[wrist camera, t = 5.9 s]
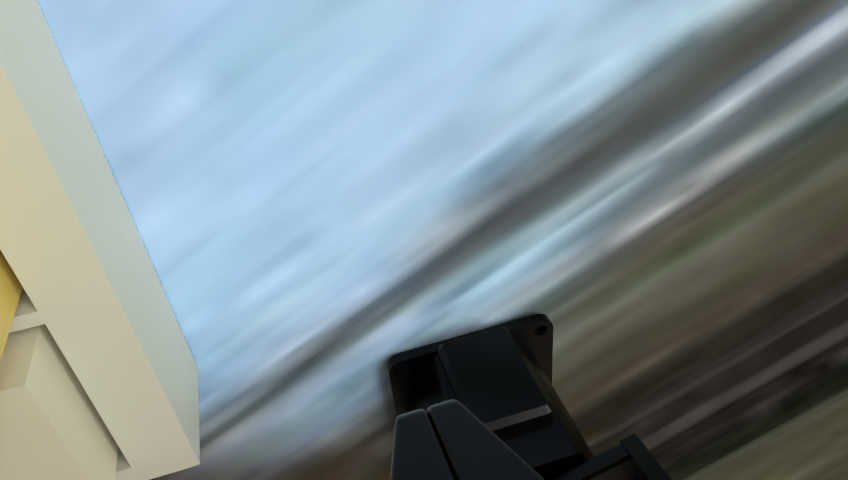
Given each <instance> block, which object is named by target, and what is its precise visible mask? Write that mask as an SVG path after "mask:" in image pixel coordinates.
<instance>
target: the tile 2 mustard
mask: <svg viewBox="0 0 848 480" xmlns="http://www.w3.org/2000/svg"><path fill="white" fill-rule="evenodd" d="M22 289H23V286H22V285H21V283H20V281H19V280H18V278H17V276H16V275H15V273H14V271H13V270H12V268H11V266H10V265H9V263H8V261H7V260H6V258H5V256H4V255H3V253H2V251H1V250H0V361H1V358H2V354H3V351H4V348H5V344H6V341H7V338H8V335H9V331H10V328H11V325H12V321H13V318H14V315H15V312H16V308H17V305H18V302H19V298H20V295H21V292H22Z"/></svg>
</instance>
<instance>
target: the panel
mask: <svg viewBox="0 0 848 480" xmlns="http://www.w3.org/2000/svg"><path fill="white" fill-rule="evenodd" d="M0 250H1V251H2V253H3V255H4V256H5V258H6V260H7V261H8V263H9V265H10V266H11V268H12V270H13V271H14V273H15V275H16V276H17V278H18V280H19V281H20V283H21V285H22V286H23V289H22V292H21V295H20V298H19V302H18V305H17V308H16V312H15V315H14V318H13V321H12V325H11V328H10V331H9V333H11V332H15V331H19V330H23V329H27V328H31V327H35V326H39V325H43V324H45V325H46V326H47V328H48V330H49V331H50V333H51V335H52V336H53V338H54V340H55V341H56V343H57V345H58V346H59V348H60V350H61V351H62V353H63V355H64V356H65V358H66V360H67V361H68V363H69V365H70V366H71V368H72V370H73V371H74V373H75V375H76V376H77V378H78V380H79V381H80V383H81V385H82V386H83V388H84V390H85V391H86V393H87V395H88V396H89V398H90V400H91V401H92V403H93V405H94V406H95V408H96V410H97V411H98V413H99V415H100V416H101V418H102V420H103V421H104V423H105V425H106V426H107V428H108V430H109V431H110V433H111V435H112V436H113V438H114V440H115V441H116V443H117V445H118V454H117V465H116V475H115V480H150V479H153V478H157V477H160V476H163V475H167V474H170V473H173V472H177V471H180V470H183V469H187V468H190V467H194V466H197V465H200V441H199V400H198V368H197V365H196V363H195V361H194V358H193V356H192V354H191V352H190V349H189V347H188V345H187V342H186V340H185V338H184V336H183V333H182V331H181V329H180V326H179V324H178V322H177V320H176V317H175V315H174V313H173V310H172V308H171V306H170V304H169V301H168V299H167V297H166V294H165V292H164V290H163V288H162V285H161V283H160V281H159V278H158V276H157V274H156V272H155V269H154V267H153V265H152V262H151V260H150V258H149V255H148V253H147V251H146V249H145V246H144V244H143V242H142V239H141V237H140V235H139V233H138V230H137V228H136V226H135V223H134V221H133V219H132V217H131V214H130V212H129V210H128V207H127V205H126V203H125V201H124V198H123V196H122V194H121V191H120V189H119V187H118V185H117V182H116V180H115V178H114V175H113V173H112V171H111V169H110V166H109V164H108V162H107V159H106V157H105V155H104V153H103V150H102V148H101V146H100V143H99V141H98V139H97V137H96V134H95V132H94V130H93V127H92V125H91V123H90V121H89V118H88V116H87V114H86V111H85V109H84V107H83V105H82V102H81V100H80V98H79V95H78V93H77V91H76V89H75V86H74V84H73V82H72V79H71V77H70V75H69V73H68V70H67V68H66V66H65V63H64V61H63V59H62V57H61V54H60V52H59V50H58V47H57V45H56V43H55V41H54V38H53V36H52V34H51V31H50V29H49V27H48V25H47V22H46V20H45V18H44V15H43V13H42V11H41V9H40V6H39V4H38V2H37V0H0Z"/></svg>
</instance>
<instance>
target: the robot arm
mask: <svg viewBox="0 0 848 480" xmlns="http://www.w3.org/2000/svg"><path fill="white" fill-rule="evenodd" d="M539 326H540V327H539ZM538 327H539V328H538ZM552 349H553V325H552V323H551V321H550V320H549V318H548V317H547V316H546V315H544V314H536V315H533V316H529V317H525V318H522V319H518V320H515V321H511V322H508V323H504V324H501V325H497V326H494V327H490V328H487V329H483V330H480V331H476V332H473V333H469V334H465V335H462V336H458V337H455V338H451V339H448V340H444V341H441V342H437V343H434V344H430V345H427V346H423V347H420V348H416V349H413V350H409V351H405V352H402V353H398V354H396V355H394V356H392V357H391V358H390V359H389V360H388V362H387V366H386V367H387V372H388V377H389V383H390V388H391V393H392V398H393V403H394V408H395V414H396V420H395V427H394V439H393V451H392V462H391V474H390V480H671V478H670V477H669V476H668V475H667V473H666V472H665V471H664V470H663V468H662V467H661V466H660V465H659V463H658V462H657V461H656V459H655V458H654V457H653V456H652V454H651V453H650V452H649V451H648V449H647V448H646V447H645V446H644V444H643V443H642V442H641V440H640V439H639V438H638V437H637V435H636V434H635V433H634V434H632V435H630V436H628V437H626V438H624V439H622V440H620V444H619V445H617V446H615V447H613V448H611V449H609V450H607V451H605V452H603V453H601V454H599V455H597V456H595V457H594V455H593V454H592V452H591V450H590V449H589V447H588V445H587V444H586V442H585V440H584V438H583V437H582V435H581V433H580V432H579V430H578V428H577V427H576V425H575V423H574V422H573V420H572V418H571V416H570V415H569V413H568V411H567V410H566V408H565V406H564V405H563V403H562V401H561V400H560V398H559V396H558V394H557V393H556V391H555V389H554V388H553V386H552ZM400 366H403V367H401V368H398V367H400Z"/></svg>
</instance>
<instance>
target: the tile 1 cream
mask: <svg viewBox="0 0 848 480" xmlns="http://www.w3.org/2000/svg"><path fill="white" fill-rule="evenodd" d="M117 454H118V445H117V443H116V441H115V440H114V438H113V436H112V435H111V433H110V431H109V430H108V428H107V426H106V425H105V423H104V421H103V420H102V418H101V416H100V415H99V413H98V411H97V410H96V408H95V406H94V405H93V403H92V401H91V400H90V398H89V396H88V395H87V393H86V391H85V390H84V388H83V386H82V385H81V383H80V381H79V380H78V378H77V376H76V375H75V373H74V371H73V370H72V368H71V366H70V365H69V363H68V361H67V360H66V358H65V356H64V355H63V353H62V351H61V350H60V348H59V346H58V345H57V343H56V341H55V340H54V338H53V336H52V335H51V333H50V331H49V330H48V328H47V326H46V325H45V324H43V325H39V326H35V327H31V328H27V329H23V330H19V331H15V332H11V333H9V335H8V338H7V341H6V344H5V348H4V351H3V354H2V358H1V361H0V480H115V475H116V465H117Z"/></svg>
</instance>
